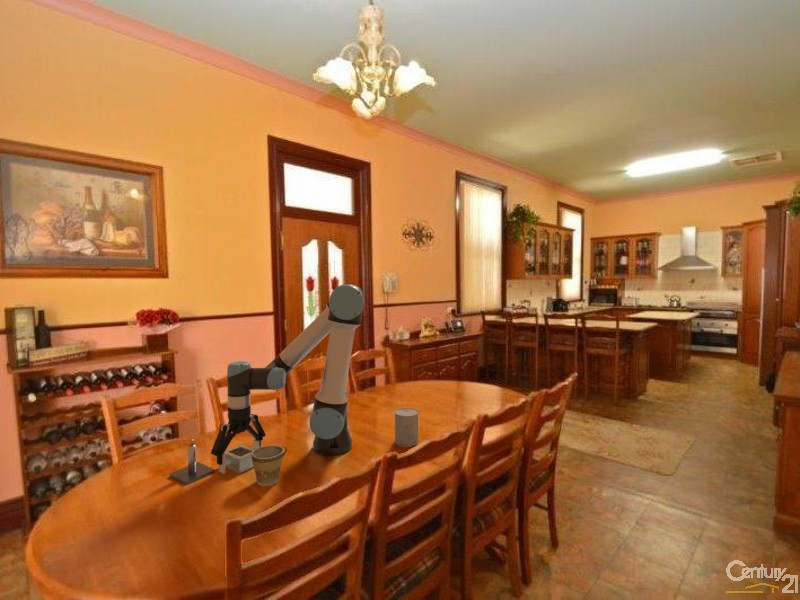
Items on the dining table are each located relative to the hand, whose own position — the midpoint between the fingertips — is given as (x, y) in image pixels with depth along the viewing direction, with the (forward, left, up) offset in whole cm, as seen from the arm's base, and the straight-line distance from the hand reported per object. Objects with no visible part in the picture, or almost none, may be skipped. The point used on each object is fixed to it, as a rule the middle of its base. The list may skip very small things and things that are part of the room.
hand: (240, 465), depth 142 cm
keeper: (+8, +13, 0) cm, 15 cm away
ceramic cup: (-17, 0, 0) cm, 17 cm away
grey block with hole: (0, 0, 0) cm, 0 cm away
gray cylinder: (-39, -49, 0) cm, 63 cm away
